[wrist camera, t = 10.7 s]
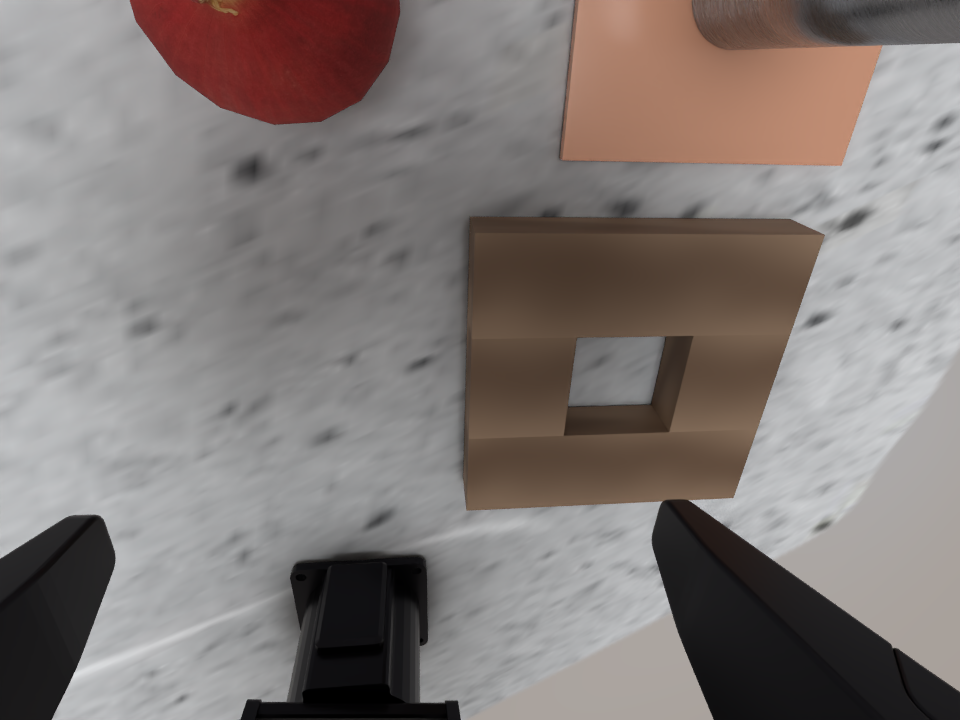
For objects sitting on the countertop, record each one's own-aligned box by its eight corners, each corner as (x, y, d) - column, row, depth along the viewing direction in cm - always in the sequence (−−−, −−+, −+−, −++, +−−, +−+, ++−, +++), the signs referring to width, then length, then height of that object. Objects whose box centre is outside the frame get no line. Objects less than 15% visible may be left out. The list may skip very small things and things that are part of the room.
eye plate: (712, 468, 26) (733, 498, 25) (463, 478, 25) (466, 510, 23) (790, 219, 20) (824, 234, 19) (470, 216, 19) (474, 233, 17)
